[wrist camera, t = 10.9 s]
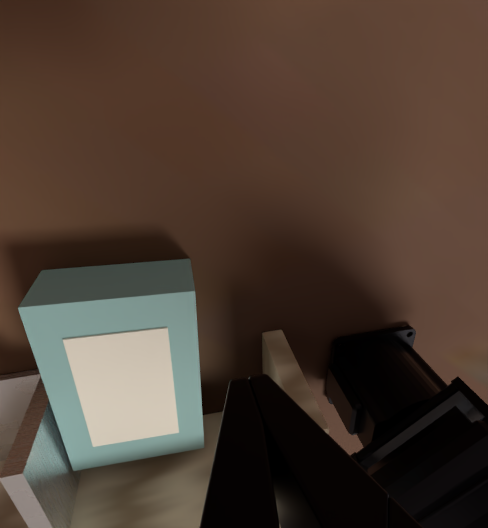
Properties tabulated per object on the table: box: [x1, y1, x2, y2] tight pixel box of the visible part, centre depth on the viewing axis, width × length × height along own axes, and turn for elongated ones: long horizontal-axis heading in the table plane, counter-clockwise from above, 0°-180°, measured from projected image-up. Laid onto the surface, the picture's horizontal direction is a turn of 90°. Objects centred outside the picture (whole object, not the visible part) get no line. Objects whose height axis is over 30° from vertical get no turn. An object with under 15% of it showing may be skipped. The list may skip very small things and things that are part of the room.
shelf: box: [0, 329, 329, 528], centre depth 21 cm, size 22×8×8 cm, turn 92°
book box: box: [18, 259, 204, 471], centre depth 21 cm, size 8×12×4 cm, turn 179°
